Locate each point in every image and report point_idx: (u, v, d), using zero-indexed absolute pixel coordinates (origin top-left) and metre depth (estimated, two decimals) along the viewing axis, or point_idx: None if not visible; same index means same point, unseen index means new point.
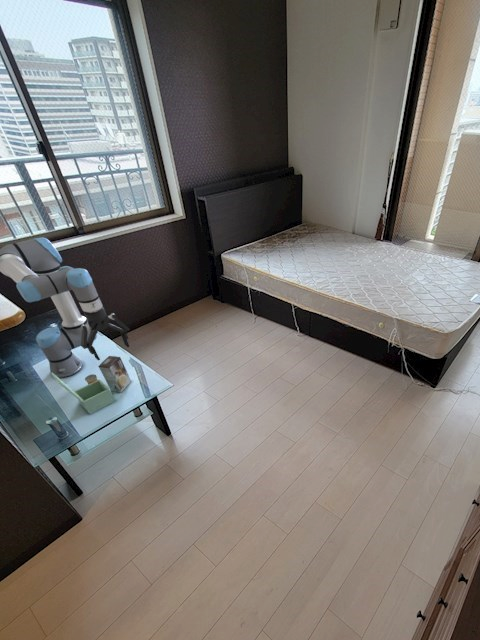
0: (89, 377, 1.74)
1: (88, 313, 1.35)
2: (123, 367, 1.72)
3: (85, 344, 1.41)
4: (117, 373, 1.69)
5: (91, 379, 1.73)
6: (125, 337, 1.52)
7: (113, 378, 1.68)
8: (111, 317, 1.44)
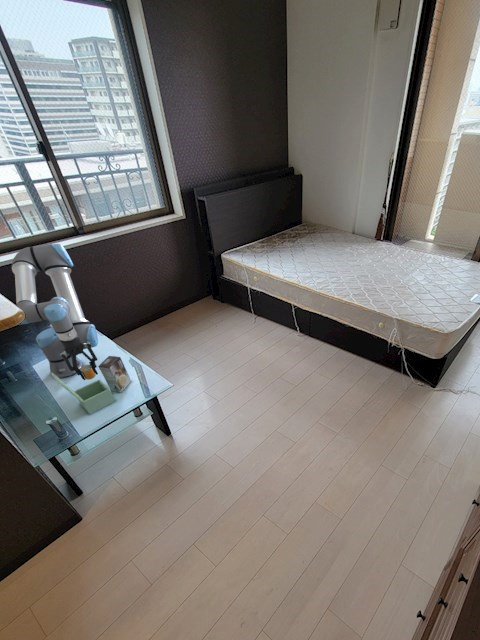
0: (84, 367, 1.70)
1: (64, 341, 1.55)
2: (123, 367, 1.72)
3: (71, 368, 1.63)
4: (117, 373, 1.69)
5: (86, 369, 1.69)
6: (93, 366, 1.71)
7: (113, 378, 1.68)
8: (86, 345, 1.64)
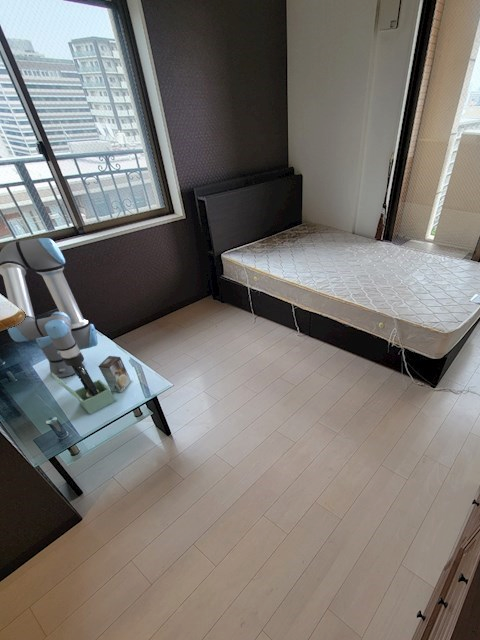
0: None
1: None
2: (123, 367, 1.72)
3: (76, 373, 1.61)
4: (117, 373, 1.69)
5: (88, 394, 1.63)
6: (89, 390, 1.58)
7: (113, 378, 1.68)
8: None
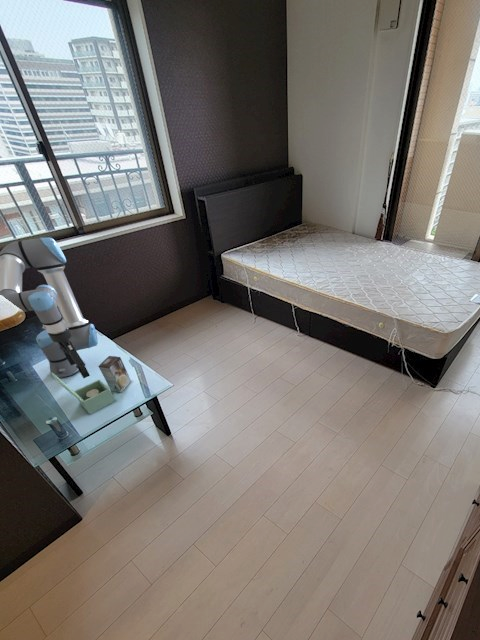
0: (94, 391, 1.65)
1: None
2: (123, 367, 1.72)
3: (60, 347, 1.53)
4: (117, 373, 1.69)
5: (88, 394, 1.63)
6: (78, 369, 1.47)
7: (113, 378, 1.68)
8: None
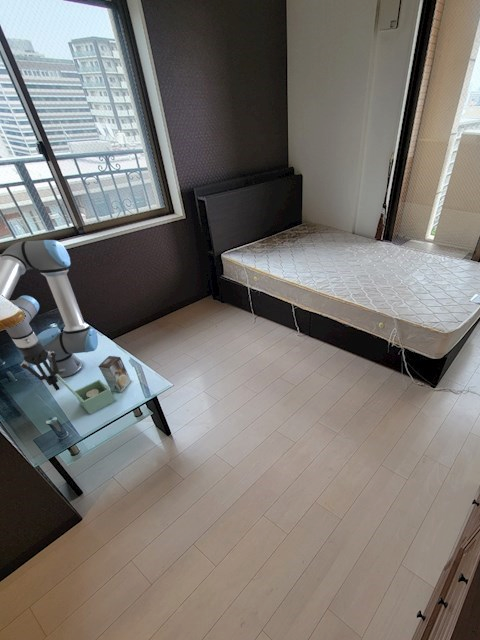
0: (94, 391, 1.65)
1: (22, 348, 1.33)
2: (123, 367, 1.72)
3: (39, 377, 1.42)
4: (117, 373, 1.69)
5: (88, 394, 1.63)
6: (54, 380, 1.47)
7: (113, 378, 1.68)
8: (50, 354, 1.42)
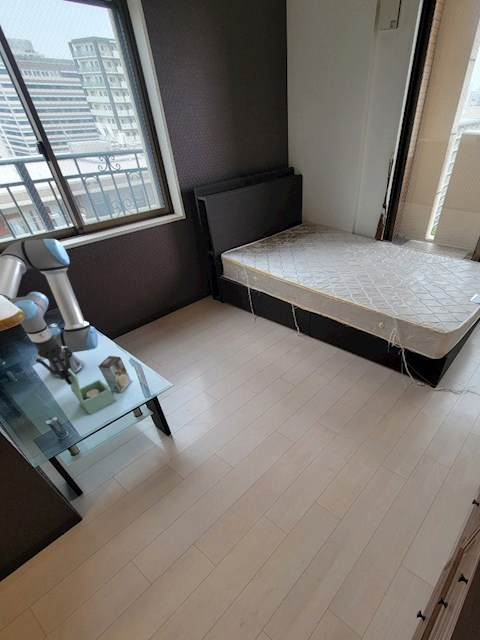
0: (94, 391, 1.65)
1: (36, 343, 1.36)
2: (123, 367, 1.72)
3: (52, 371, 1.45)
4: (117, 373, 1.69)
5: (88, 394, 1.63)
6: (66, 375, 1.50)
7: (113, 378, 1.68)
8: (63, 348, 1.45)
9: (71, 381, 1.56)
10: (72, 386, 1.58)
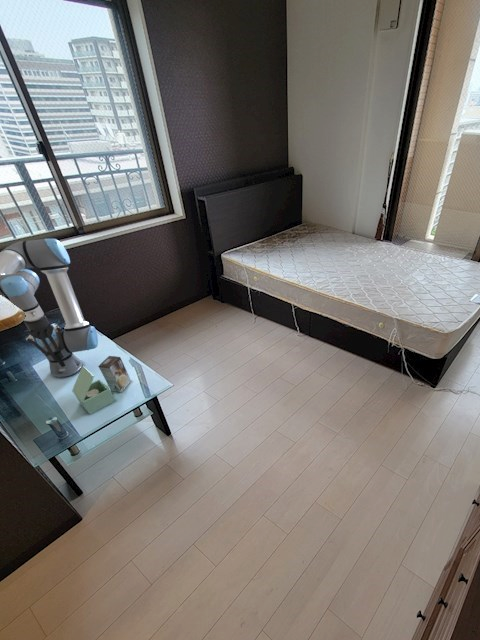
0: (94, 391, 1.65)
1: (28, 322, 1.31)
2: (123, 367, 1.72)
3: (44, 352, 1.41)
4: (117, 373, 1.69)
5: (88, 394, 1.63)
6: (59, 356, 1.46)
7: (113, 378, 1.68)
8: (55, 328, 1.40)
9: (81, 380, 1.59)
10: (78, 385, 1.59)
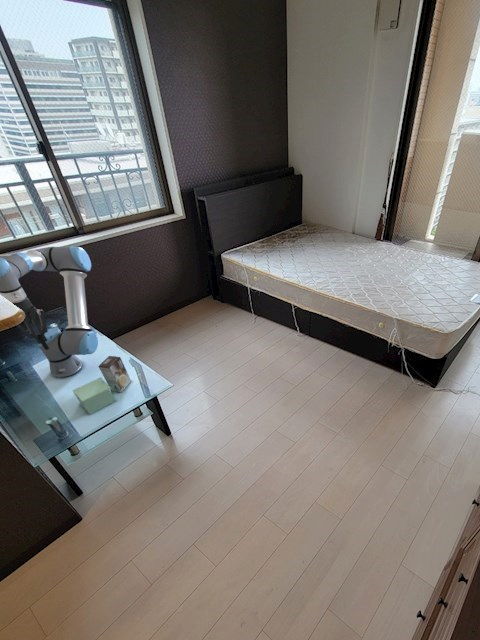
0: None
1: None
2: (123, 367, 1.72)
3: (28, 335, 1.44)
4: (117, 373, 1.69)
5: None
6: (43, 339, 1.49)
7: (113, 378, 1.68)
8: (38, 311, 1.44)
9: (91, 386, 1.64)
10: (84, 389, 1.63)
